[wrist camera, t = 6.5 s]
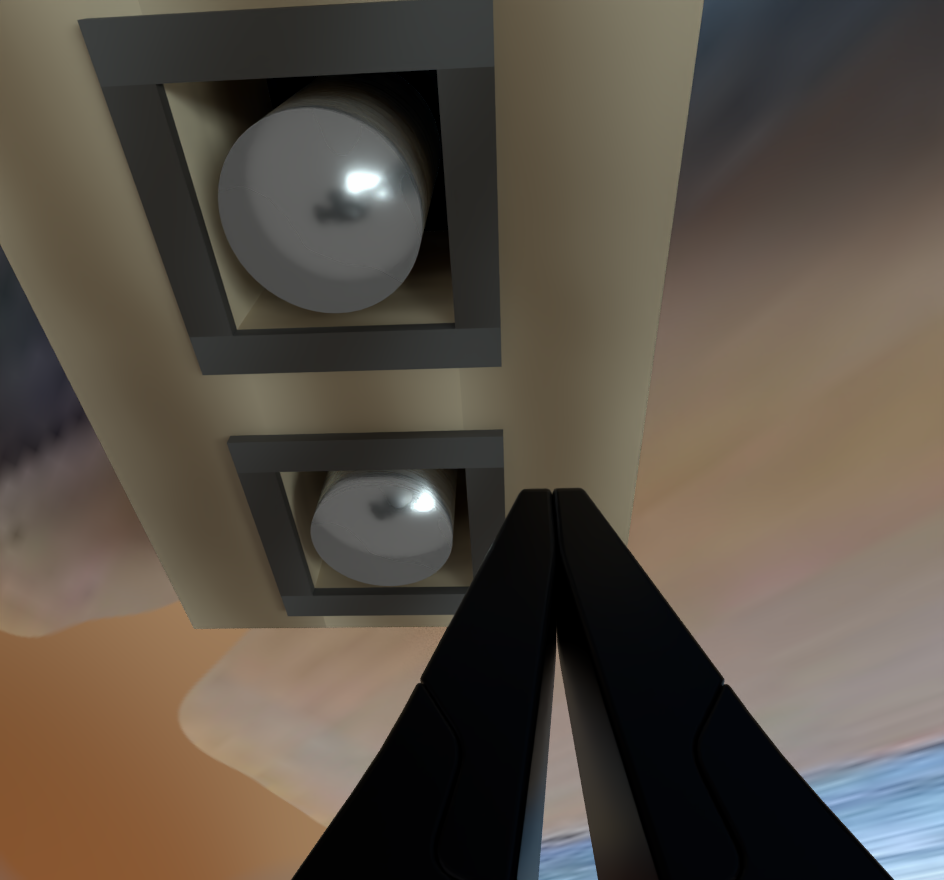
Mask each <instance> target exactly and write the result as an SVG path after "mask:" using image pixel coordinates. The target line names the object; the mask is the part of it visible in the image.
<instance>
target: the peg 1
mask: <svg viewBox="0 0 944 880" xmlns="http://www.w3.org/2000/svg"><path fill="white" fill-rule="evenodd" d="M440 158H441V144H440V136H439V132H438V128H437V124H436V121H435V119H434V116H433V114H432V112H431V110H430V108H429V106H428V104H427V103H426V101H425V100H424V99H423V97H422V96H421V94H420V93H419V92H418V91H417V90H416V89H415V88H414V87H413V86H412V85H411V84H410V83H409V82H408V81H406V80H405V79H404V78H402V77H401V76H399V75H398V74H396V73H394V72H378V73H359V74H340V75H320V76H319V77H317V78H316V79H314V80H313V81H312V82H310V83H309V84H308V85H306V86H305V87H304V88H302V89H301V90H300V91H298V92H297V93H296V94H294V95H293V96H291V97H290V98H289V99H287V100H286V101H285V102H283V103H282V104H281V105H279V106H278V107H277V108H275V109H274V110H273V111H271V112H270V113H268V114H267V115H266V116H264V117H263V118H262V119H260V120H259V121H258V122H256V123H255V124H254V125H252V126H251V127H250V128H248V129H247V130H246V131H245V132H244V133H243V134H242V135H241V136H240V137H239V138H238V139H237V141H236V142H235V143H234V145H233V146H232V147H231V149H230V151H229V153H228V155H227V157H226V159H225V161H224V164H223V167H222V170H221V174H220V179H219V185H218V205H219V214H220V218H221V223H222V226H223V229H224V232H225V235H226V238H227V240H228V242H229V244H230V246H231V248H232V250H233V252H234V253H235V255H236V256H237V258H238V260H239V261H240V263H241V264H242V265H243V266H244V268H245V269H246V270H247V271H248V273H249V274H250V275H251V276H252V277H253V278H254V279H255V280H256V281H257V282H258V283H260V284H261V285H262V286H263V287H265V288H266V289H267V290H268V291H270V292H271V293H273V294H274V295H276V296H277V297H279V298H281V299H283V300H285V301H287V302H289V303H291V304H293V305H296V306H298V307H301V308H304V309H308V310H312V311H316V312H323V313H347V312H354V311H358V310H362V309H365V308H368V307H370V306H373V305H375V304H377V303H379V302H380V301H382V300H384V299H385V298H387V297H388V296H389V295H391V294H392V293H393V292H394V291H395V290H396V289H397V288H398V287H399V286H400V285H401V284H402V283H403V282H404V280H405V279H406V278H407V276H408V275H409V273H410V271H411V269H412V268H413V266H414V263H415V261H416V258H417V256H418V252H419V248H420V244H421V240H422V235H423V231H424V227H425V223H426V219H427V215H428V211H429V207H430V203H431V199H432V195H433V191H434V186H435V182H436V178H437V174H438V170H439V166H440Z"/></svg>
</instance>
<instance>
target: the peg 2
mask: <svg viewBox="0 0 944 880" xmlns="http://www.w3.org/2000/svg"><path fill="white" fill-rule="evenodd" d="M457 469H458V468H455V469H407V470H358V471H328V472H327V475H326V478H325V481H324V484H323V488H322V491H321V494H320V497H319V500H318V503H317V507H316V510H315V513H314V516H313V519H312V523H311V538H312V542H313V545H314V547H315V549H316V551H317V553H318V554H319V555H320V557H321V558H322V559H323V560H324V561H325V562H326V563H327V564H328V565H329V566H330V567H332V568H333V569H334V570H336V571H337V572H339V573H341V574H342V575H344V576H346V577H348V578H351V579H354V580H356V581H359V582H363V583H367V584H372V585H379V586H400V585H407V584H411V583H415V582H418V581H421V580H423V579H425V578H428V577H430V576H431V575H433V574H434V573H436V572H437V571H438V570H439V569H440V568H441V567H442V566H443V565H444V564H445V563H446V561H447V559H448V558H449V556H450V553H451V549H452V542H453V528H454V513H455V498H456V484H457Z"/></svg>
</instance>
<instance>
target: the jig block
mask: <svg viewBox="0 0 944 880" xmlns="http://www.w3.org/2000/svg"><path fill="white" fill-rule="evenodd" d="M703 4H704V0H0V245H1V247H2V249H3V251H4V253H5V255H6V257H7V259H8V261H9V263H10V265H11V266H12V268H13V270H14V272H15V274H16V276H17V278H18V280H19V282H20V284H21V286H22V288H23V290H24V292H25V294H26V296H27V298H28V300H29V302H30V304H31V306H32V308H33V310H34V312H35V314H36V316H37V318H38V320H39V322H40V324H41V326H42V328H43V330H44V332H45V334H46V336H47V338H48V340H49V342H50V344H51V346H52V348H53V350H54V352H55V354H56V356H57V358H58V360H59V362H60V364H61V366H62V368H63V370H64V372H65V374H66V376H67V378H68V380H69V382H70V384H71V386H72V388H73V390H74V392H75V393H76V395H77V397H78V399H79V401H80V403H81V405H82V407H83V409H84V411H85V413H86V415H87V417H88V419H89V421H90V423H91V425H92V427H93V429H94V431H95V433H96V435H97V437H98V439H99V441H100V443H101V445H102V447H103V449H104V451H105V453H106V455H107V457H108V459H109V461H110V463H111V465H112V467H113V469H114V471H115V473H116V475H117V477H118V479H119V481H120V483H121V485H122V487H123V489H124V491H125V493H126V495H127V497H128V499H129V501H130V503H131V505H132V507H133V509H134V511H135V513H136V515H137V517H138V519H139V520H140V522H141V524H142V526H143V528H144V530H145V532H146V534H147V536H148V538H149V540H150V542H151V544H152V546H153V548H154V550H155V552H156V554H157V556H158V558H159V560H160V562H161V564H162V566H163V568H164V570H165V572H166V574H167V576H168V578H169V580H170V582H171V584H172V586H173V588H174V590H175V592H176V594H177V596H178V598H179V600H180V602H181V604H182V606H183V608H184V610H185V612H186V614H187V616H188V618H189V620H190V622H191V624H192V626H193V628H195V629H211V628H212V629H215V628H336V627H448V625H449V624H450V622H451V620H452V618H453V616H454V614H455V612H456V610H457V609H458V607H459V605H460V603H461V601H462V599H463V597H464V595H465V594H466V592H467V590H468V588H469V586H470V584H471V582H472V580H473V579H474V577H475V575H476V573H477V571H478V569H479V567H480V565H481V564H482V562H483V560H484V558H485V556H486V554H487V552H488V550H489V549H490V547H491V545H492V543H493V541H494V539H495V537H496V535H497V534H498V532H499V530H500V528H501V526H502V524H503V522H504V520H505V519H506V517H507V515H508V513H509V511H510V509H511V507H512V505H513V504H514V502H515V500H516V498H517V496H518V494H519V493H520V491H521V490H523V489H532V488H548V489H550V490H551V492H553V490H554V489H556V488H582V489H584V490H585V491H586V493H587V494H588V495H589V497H590V498H591V499H592V501H593V502H594V503H595V505H596V506H597V507H598V509H599V510H600V511H601V513H602V514H603V516H604V517H605V518H606V520H607V521H608V522H609V524H610V525H611V526H612V528H613V529H614V530H615V532H616V533H617V534H618V536H619V537H620V538H621V540H622V541H623V543H624V544H625V545H626V547H627V543H628V536H629V529H630V522H631V515H632V508H633V501H634V494H635V487H636V479H637V472H638V465H639V458H640V451H641V444H642V437H643V430H644V423H645V416H646V408H647V401H648V394H649V387H650V380H651V373H652V366H653V359H654V352H655V345H656V337H657V330H658V323H659V316H660V309H661V302H662V295H663V288H664V281H665V273H666V266H667V259H668V252H669V245H670V238H671V231H672V224H673V217H674V210H675V202H676V195H677V188H678V181H679V174H680V167H681V160H682V153H683V146H684V139H685V131H686V124H687V117H688V110H689V103H690V96H691V89H692V82H693V75H694V68H695V60H696V53H697V46H698V39H699V32H700V25H701V18H702V11H703ZM436 69H437V80H438V94H439V108H440V122H441V136H442V150H443V164H444V178H445V192H446V206H447V220H448V230H438V231H423V235H422V240H421V244H420V248H419V252H418V256H417V258H416V261H415V263H414V266H413V268H412V269H411V271H410V273H409V275H408V276H407V278H406V279H405V280H404V282H403V283H402V284H401V285H400V286H399V287H398V288H397V289H396V290H395V291H394V292H393V293H392V294H391V295H389V296H388V297H387V298H385V299H384V300H382V301H380V302H379V303H377V304H375V305H373V306H370V307H368V308H365V309H362V310H358V311H354V312H347V313H323V312H316V311H312V310H308V309H304V308H301V307H298V306H296V305H293V304H291V303H289V302H287V301H285V300H283V299H281V298H279V297H277V296H276V295H274V294H273V293H271V292H270V291H268V290H267V289H266V288H265V287H263V286H262V285H261V284H260V283H258V282H257V281H256V280H255V279H254V278H253V277H252V276H251V275H250V274H249V273H248V271H247V270H246V269H245V268H244V266H243V265H242V264H241V263H240V261H239V260H238V258H237V256H236V255H235V253H234V252H233V250H232V248H231V246H230V244H229V242H228V240H227V238H226V235H225V232H224V229H223V226H222V223H221V218H220V214H219V205H218V185H219V179H220V174H221V170H222V167H223V164H224V161H225V159H226V157H227V155H228V153H229V151H230V149H231V147H232V146H233V145H234V143H235V142H236V141H237V139H238V138H239V137H240V136H241V135H242V134H243V133H244V132H245V131H246V130H247V129H248V128H250V127H251V126H252V125H254V124H255V123H256V122H258V121H259V120H260V119H262V118H263V117H264V116H266V115H267V114H268V113H270V112H271V111H273V108H272V103H271V99H270V94H269V89H268V85H267V80H266V78H282V77H301V76H320V75H340V74H359V73H378V72H398V71H417V70H436ZM455 468H458V469H457V484H456V498H455V513H454V528H453V542H452V549H451V553H450V556H449V558H448V559H447V561H446V563H445V564H444V565H443V566H442V567H441V568H440V569H439V570H438V571H437V572H436V573H434V574H433V575H431V576H430V577H428V578H425V579H423V580H421V581H418V582H415V583H411V584H407V585H400V586H379V585H372V584H367V583H363V582H359V581H356V580H354V579H351V578H348V577H346V576H344V575H342V574H341V573H339V572H337V571H336V570H334V569H333V568H332V567H330V566H329V565H328V564H327V563H326V562H325V561H324V560H323V559H322V558H321V557H320V555H319V554H318V553H317V551H316V549H315V547H314V545H313V542H312V538H311V523H312V519H313V516H314V513H315V510H316V507H317V503H318V500H319V497H320V494H321V491H322V488H323V484H324V481H325V478H326V475H327V472H328V471H358V470H407V469H455Z"/></svg>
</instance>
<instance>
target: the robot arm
mask: <svg viewBox="0 0 944 880" xmlns="http://www.w3.org/2000/svg"><path fill="white" fill-rule="evenodd" d="M556 632H557V644H558V652H559V659H560V666H561V671H562V677H563V683H564V688H565V694H566V700H567V705H568V711H569V717H570V723H571V728H572V734H573V740H574V745H575V751H576V757H577V762H578V768H579V774H580V779H581V785H582V791H583V796H584V802H585V808H586V814H587V819H588V825H589V831H590V836H591V842H592V848H593V853H594V859H595V865H596V870H597V876H598V880H894V879H893V878H892V877H891V876H890V875H889V874H888V872H887V871H886V870H885V869H884V868H883V867H882V866H881V865H880V864H879V863H878V861H877V860H876V859H875V858H874V857H873V856H872V855H871V854H870V853H869V851H868V850H867V849H866V848H865V847H864V846H863V845H862V844H861V843H860V842H859V840H858V839H857V838H856V837H855V836H854V835H853V834H852V833H851V832H850V831H849V829H848V828H847V827H846V826H845V825H844V824H843V823H842V822H841V821H840V819H839V818H838V817H837V816H836V815H835V814H834V813H833V812H832V811H831V810H830V808H829V807H828V806H827V805H826V804H825V803H824V802H823V801H822V800H821V798H820V797H819V796H818V795H817V794H816V793H815V792H814V790H813V789H812V788H811V787H810V786H809V785H808V783H807V782H806V781H805V780H804V779H803V778H802V777H801V775H800V774H799V773H798V772H797V771H796V770H795V769H794V767H793V766H792V765H791V764H790V763H789V762H788V760H787V759H786V758H785V757H784V756H783V755H782V753H781V752H780V751H779V750H778V748H777V747H776V746H775V745H774V743H773V742H772V741H771V739H770V738H769V737H768V736H767V734H766V733H765V732H764V731H763V729H762V728H761V727H760V725H759V724H758V723H757V722H756V720H755V719H754V718H753V716H752V715H751V714H750V713H749V711H748V710H747V709H746V707H745V706H744V704H743V703H742V702H741V700H740V699H739V698H738V696H737V695H736V694H735V692H734V691H733V690H732V688H731V687H730V686H729V685H728V684H724V678H723V676H722V675H721V674H720V672H719V671H718V670H717V668H716V667H715V666H714V664H713V663H712V662H711V660H710V659H709V658H708V656H707V655H706V653H705V652H704V651H703V649H702V648H701V647H700V645H699V644H698V643H697V641H696V640H695V639H694V637H693V636H692V635H691V633H690V632H689V630H688V629H687V628H686V626H685V625H684V624H683V622H682V621H681V620H680V618H679V617H678V616H677V614H676V613H675V612H674V610H673V609H672V607H671V606H670V605H669V603H668V602H667V601H666V599H665V598H664V597H663V595H662V594H661V593H660V591H659V590H658V589H657V587H656V586H655V584H654V583H653V582H652V580H651V579H650V578H649V576H648V575H647V574H646V572H645V571H644V570H643V568H642V567H641V566H640V564H639V563H638V561H637V560H636V559H635V557H634V556H633V555H632V553H631V552H630V551H629V549H628V548H627V547H626V545H625V544H624V543H623V541H622V540H621V538H620V537H619V536H618V534H617V533H616V532H615V530H614V529H613V528H612V526H611V525H610V524H609V522H608V521H607V520H606V518H605V517H604V516H603V514H602V513H601V511H600V510H599V509H598V507H597V506H596V505H595V503H594V502H593V501H592V499H591V498H590V497H589V495H588V494H587V493H586V491H585V490H584V489H582V488H556V489H554V490H553V492H551V490H550V489H548V488H532V489H523V490H521V491H520V493H519V494H518V496H517V498H516V500H515V502H514V504H513V505H512V507H511V509H510V511H509V513H508V515H507V517H506V519H505V520H504V522H503V524H502V526H501V528H500V530H499V532H498V534H497V535H496V537H495V539H494V541H493V543H492V545H491V547H490V549H489V550H488V552H487V554H486V556H485V558H484V560H483V562H482V564H481V565H480V567H479V569H478V571H477V573H476V575H475V577H474V579H473V580H472V582H471V584H470V586H469V588H468V590H467V592H466V594H465V595H464V597H463V599H462V601H461V603H460V605H459V607H458V609H457V610H456V612H455V614H454V616H453V618H452V620H451V622H450V624H449V625H448V627H447V629H446V631H445V633H444V635H443V637H442V639H441V640H440V642H439V644H438V646H437V648H436V650H435V652H434V654H433V655H432V657H431V659H430V661H429V663H428V665H427V667H426V669H425V670H424V672H423V674H422V676H421V678H420V681H421V683H418V684H417V685H416V687H415V689H414V690H413V692H412V694H411V696H410V698H409V700H408V702H407V704H406V705H405V707H404V709H403V711H402V713H401V714H400V716H399V718H398V720H397V721H396V723H395V725H394V727H393V728H392V730H391V732H390V734H389V735H388V737H387V739H386V740H385V742H384V744H383V746H382V747H381V749H380V751H379V752H378V754H377V755H376V757H375V758H374V760H373V761H372V763H371V764H370V766H369V767H368V769H367V770H366V772H365V774H364V775H363V777H362V778H361V780H360V781H359V783H358V784H357V786H356V787H355V789H354V790H353V792H352V793H351V795H350V796H349V798H348V799H347V800H346V802H345V803H344V805H343V806H342V808H341V809H340V810H339V812H338V813H337V815H336V816H335V818H334V819H333V820H332V822H331V823H330V825H329V826H328V828H327V829H326V831H325V832H324V834H323V835H322V836H321V838H320V839H319V841H318V842H317V843H316V845H315V846H314V848H313V849H312V851H311V852H310V853H309V855H308V856H307V858H306V859H305V861H304V862H303V864H302V865H301V866H300V868H299V869H298V871H297V872H296V873H295V875H294V876H293V878H292V879H291V880H538V877H539V865H540V852H541V840H542V827H543V814H544V802H545V789H546V777H547V764H548V751H549V739H550V726H551V713H552V701H553V688H554V676H555V662H556Z"/></svg>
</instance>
